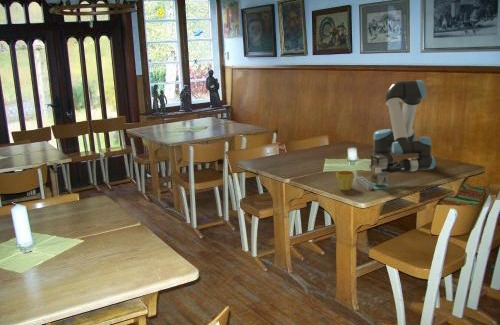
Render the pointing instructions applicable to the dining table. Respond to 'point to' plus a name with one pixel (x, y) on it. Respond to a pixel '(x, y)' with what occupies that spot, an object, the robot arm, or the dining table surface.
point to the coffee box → (379, 162)
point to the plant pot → (345, 179)
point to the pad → (381, 186)
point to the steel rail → (365, 183)
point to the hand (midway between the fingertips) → (372, 168)
